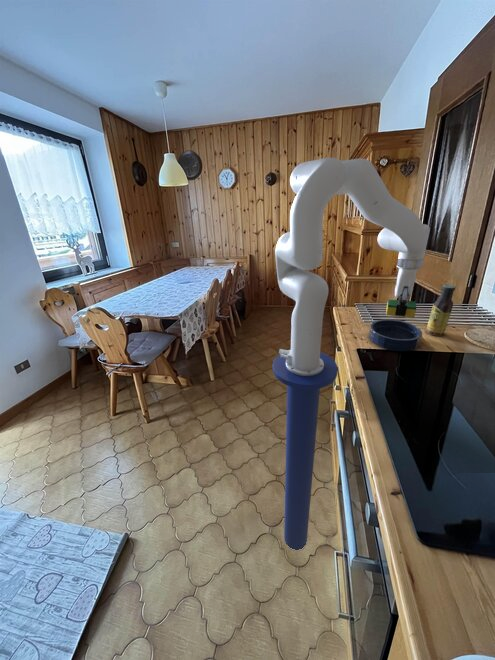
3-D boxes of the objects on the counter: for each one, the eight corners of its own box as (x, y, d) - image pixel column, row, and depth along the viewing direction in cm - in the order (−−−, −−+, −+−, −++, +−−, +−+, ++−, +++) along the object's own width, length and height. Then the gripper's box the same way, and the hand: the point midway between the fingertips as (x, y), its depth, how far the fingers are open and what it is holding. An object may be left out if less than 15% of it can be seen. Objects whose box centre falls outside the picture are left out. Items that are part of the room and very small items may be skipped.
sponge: (386, 315, 103) (387, 304, 101) (386, 309, 108) (388, 299, 106) (414, 318, 100) (416, 307, 98) (413, 311, 104) (415, 301, 103)
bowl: (366, 347, 105) (368, 335, 103) (370, 327, 120) (371, 317, 117) (420, 356, 98) (424, 343, 96) (417, 334, 113) (420, 323, 110)
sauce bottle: (423, 329, 116) (435, 282, 107) (440, 330, 115) (454, 282, 106) (429, 336, 110) (442, 288, 102) (446, 337, 109) (462, 288, 100)
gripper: (397, 256, 104) (389, 302, 112) (397, 269, 90) (388, 320, 98) (420, 257, 101) (410, 304, 109) (424, 270, 87) (412, 322, 95)
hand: (399, 311), depth 103 cm, fingers closed on sponge, 6 cm apart
